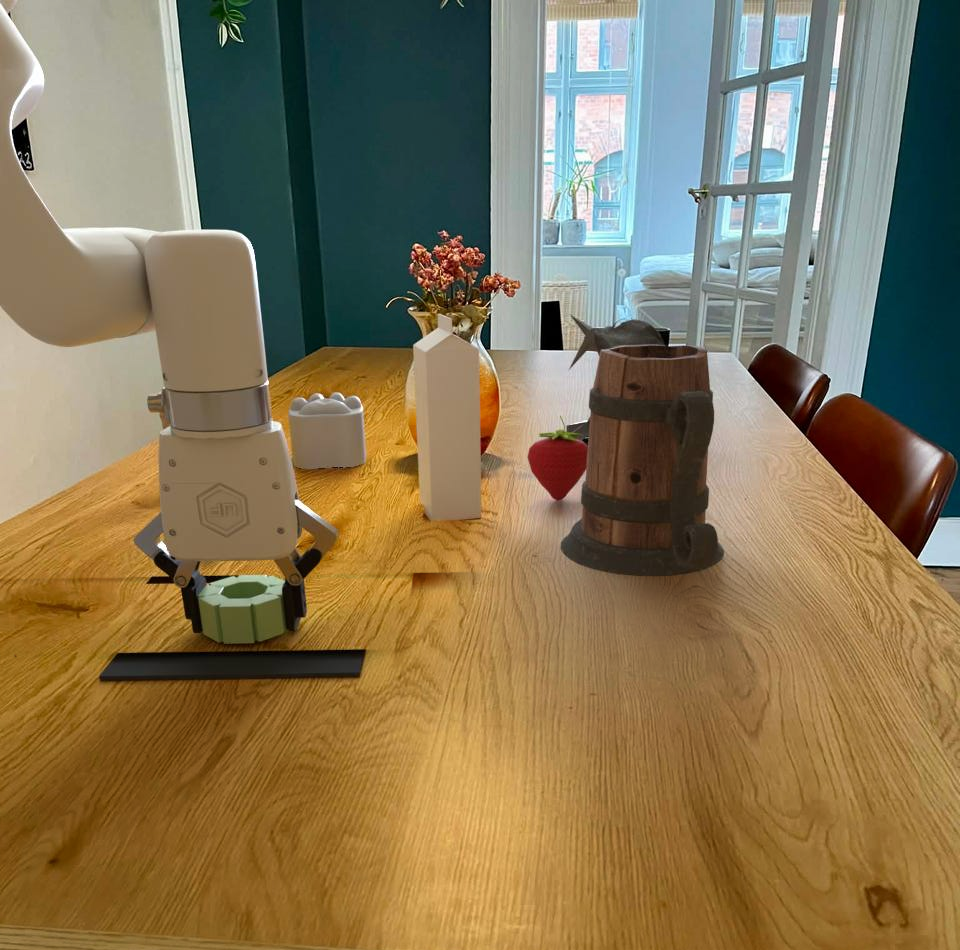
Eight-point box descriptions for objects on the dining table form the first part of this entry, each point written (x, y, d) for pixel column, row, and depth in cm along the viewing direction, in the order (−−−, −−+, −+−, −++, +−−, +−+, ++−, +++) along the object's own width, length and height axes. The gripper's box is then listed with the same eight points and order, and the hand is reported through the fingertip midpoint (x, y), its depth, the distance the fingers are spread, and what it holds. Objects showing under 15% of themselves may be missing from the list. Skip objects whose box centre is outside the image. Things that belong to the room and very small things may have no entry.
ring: (194, 644, 75) (189, 607, 74) (216, 609, 81) (211, 575, 80) (282, 643, 75) (278, 605, 74) (297, 608, 81) (294, 574, 80)
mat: (99, 680, 73) (98, 676, 72) (155, 609, 85) (154, 605, 85) (359, 677, 73) (359, 672, 72) (376, 606, 85) (376, 602, 85)
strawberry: (523, 494, 117) (523, 413, 113) (582, 491, 118) (584, 411, 114) (532, 508, 112) (532, 423, 108) (593, 504, 113) (597, 421, 109)
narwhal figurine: (656, 455, 135) (665, 323, 127) (552, 448, 139) (555, 320, 132) (671, 433, 147) (680, 312, 140) (575, 427, 152) (579, 309, 144)
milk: (431, 524, 107) (422, 320, 98) (419, 508, 113) (409, 314, 103) (483, 518, 109) (479, 317, 99) (468, 503, 114) (463, 311, 105)
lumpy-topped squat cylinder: (290, 470, 130) (284, 406, 126) (296, 448, 141) (290, 389, 138) (366, 467, 131) (362, 403, 127) (365, 445, 142) (362, 387, 139)
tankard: (541, 528, 105) (544, 341, 97) (684, 517, 108) (698, 334, 100) (612, 608, 84) (624, 378, 76) (786, 591, 87) (816, 369, 79)
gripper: (85, 421, 67) (128, 647, 75) (328, 417, 67) (347, 643, 75) (121, 401, 74) (157, 610, 82) (342, 397, 74) (358, 606, 82)
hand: (248, 624), depth 78 cm, fingers closed on ring, 7 cm apart
